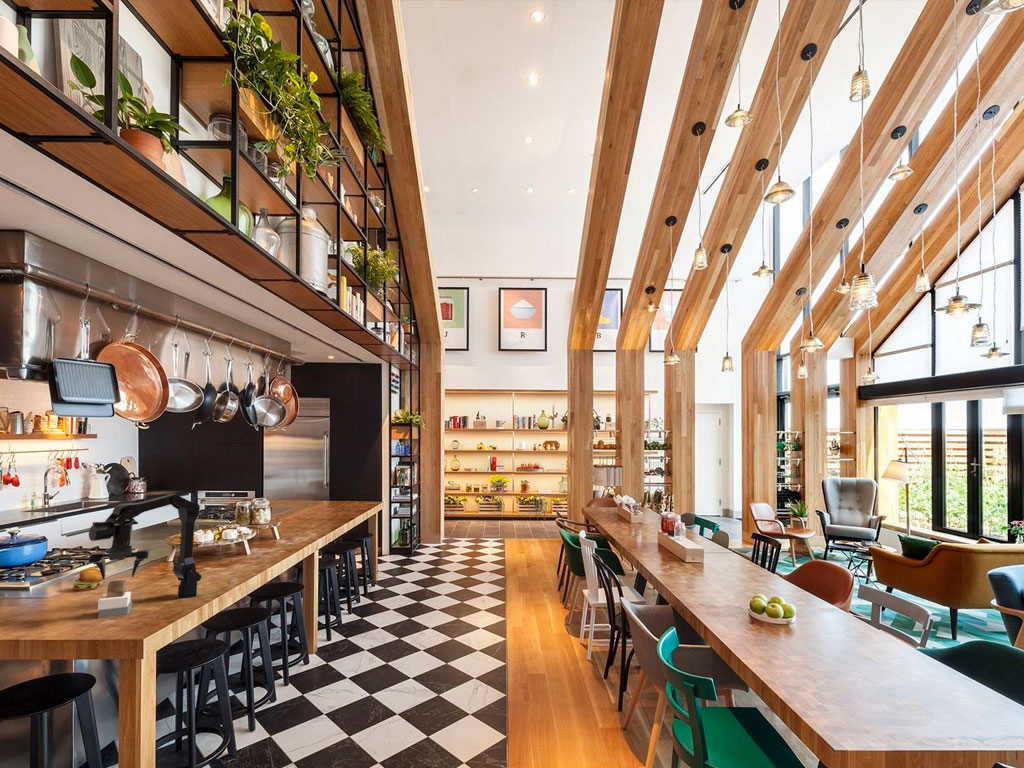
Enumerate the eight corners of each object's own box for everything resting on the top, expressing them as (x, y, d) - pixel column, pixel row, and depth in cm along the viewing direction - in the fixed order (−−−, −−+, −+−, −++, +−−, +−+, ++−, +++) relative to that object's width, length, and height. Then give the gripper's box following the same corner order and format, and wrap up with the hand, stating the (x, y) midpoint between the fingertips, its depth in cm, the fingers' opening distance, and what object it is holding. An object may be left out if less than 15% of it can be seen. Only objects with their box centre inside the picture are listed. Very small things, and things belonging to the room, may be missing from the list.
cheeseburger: (85, 584, 248) (92, 563, 249) (105, 591, 247) (113, 569, 248) (65, 590, 238) (72, 567, 239) (86, 597, 237) (93, 574, 238)
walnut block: (125, 593, 214) (126, 579, 215) (122, 596, 210) (123, 582, 210) (109, 594, 212) (110, 581, 212) (106, 597, 207) (107, 584, 208)
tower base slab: (131, 609, 216) (131, 600, 216) (127, 616, 208) (127, 606, 208) (103, 612, 212) (103, 603, 212) (98, 619, 204) (98, 609, 204)
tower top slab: (130, 600, 216) (130, 591, 216) (126, 606, 208) (127, 597, 208) (102, 603, 212) (102, 594, 212) (97, 610, 204) (98, 600, 204)
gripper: (87, 542, 202) (83, 585, 200) (147, 538, 210) (143, 580, 208) (94, 537, 212) (90, 578, 210) (151, 534, 220) (148, 574, 218)
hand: (118, 578), depth 212 cm, fingers open, 9 cm apart
